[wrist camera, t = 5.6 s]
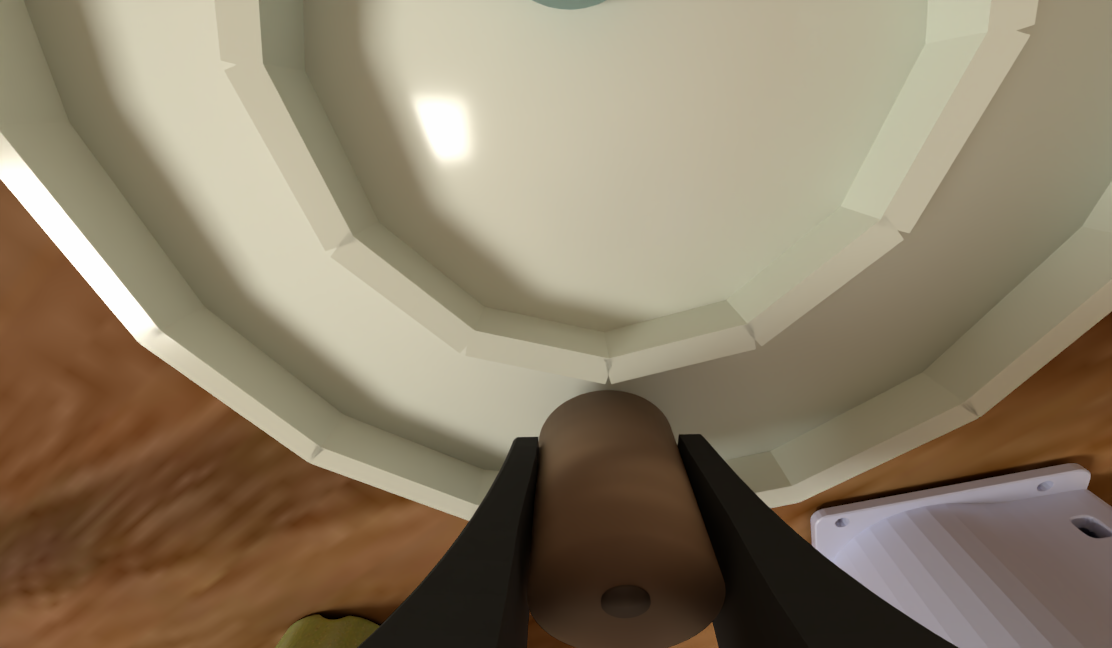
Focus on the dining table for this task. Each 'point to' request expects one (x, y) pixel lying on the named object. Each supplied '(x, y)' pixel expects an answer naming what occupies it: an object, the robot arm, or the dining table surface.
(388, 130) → the groove tray
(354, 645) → the plant pot
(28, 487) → the dining table surface
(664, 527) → the walnut bead
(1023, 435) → the dining table surface
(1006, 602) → the robot arm
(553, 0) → the teal bead
